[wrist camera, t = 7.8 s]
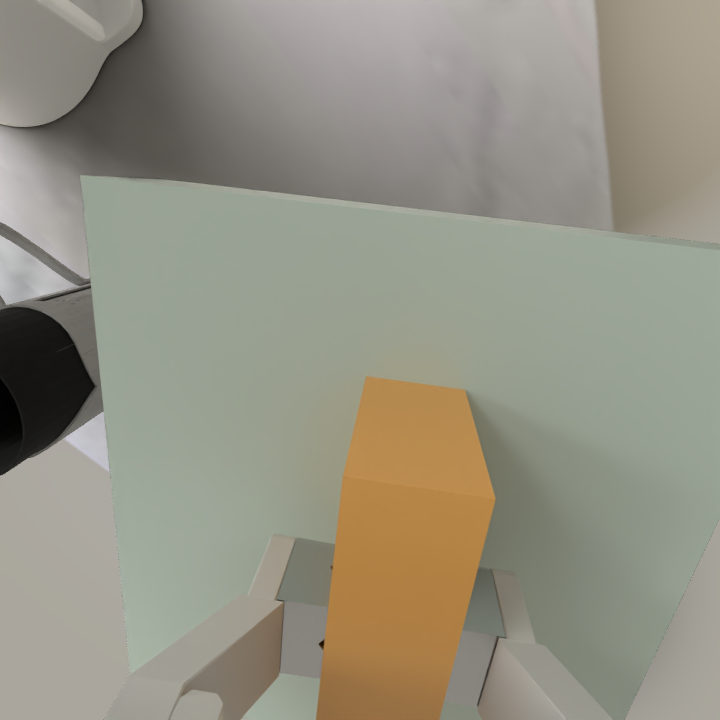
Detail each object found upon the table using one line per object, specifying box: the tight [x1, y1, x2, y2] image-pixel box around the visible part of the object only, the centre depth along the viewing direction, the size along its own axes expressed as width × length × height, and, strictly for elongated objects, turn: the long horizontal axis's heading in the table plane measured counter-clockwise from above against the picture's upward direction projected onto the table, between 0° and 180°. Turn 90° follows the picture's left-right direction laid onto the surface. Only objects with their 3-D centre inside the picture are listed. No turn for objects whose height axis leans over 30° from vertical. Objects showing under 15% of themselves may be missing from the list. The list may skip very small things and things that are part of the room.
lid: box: [80, 175, 720, 720], centre depth 10 cm, size 14×13×6 cm
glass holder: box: [0, 222, 104, 475], centre depth 28 cm, size 9×14×15 cm, turn 21°
